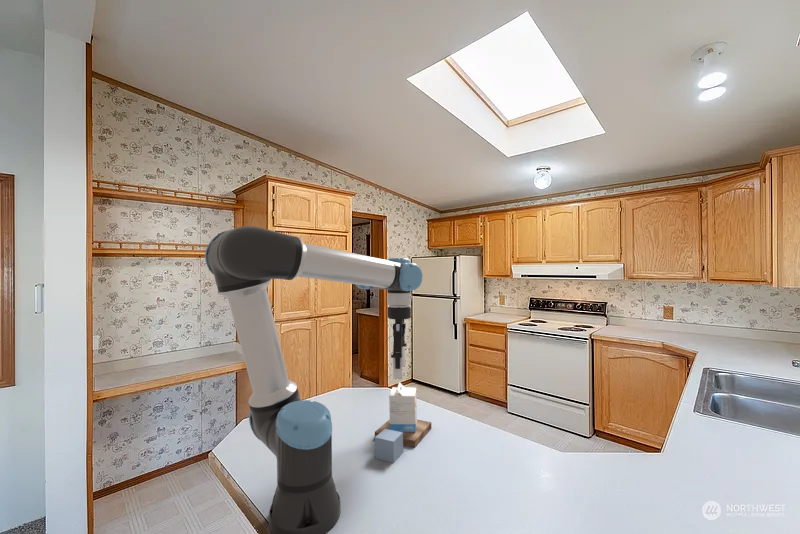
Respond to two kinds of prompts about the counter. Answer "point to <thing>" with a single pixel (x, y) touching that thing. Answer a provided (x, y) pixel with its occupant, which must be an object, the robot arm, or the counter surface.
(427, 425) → the board
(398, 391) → the ink box
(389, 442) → the cube
